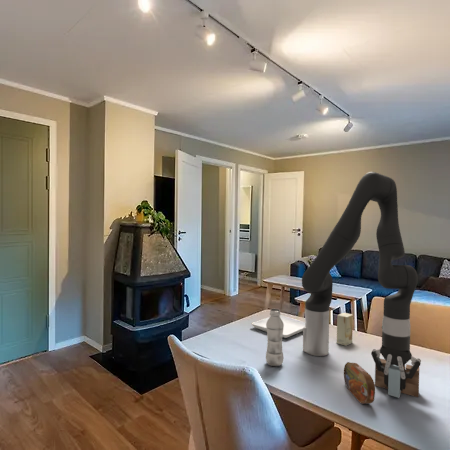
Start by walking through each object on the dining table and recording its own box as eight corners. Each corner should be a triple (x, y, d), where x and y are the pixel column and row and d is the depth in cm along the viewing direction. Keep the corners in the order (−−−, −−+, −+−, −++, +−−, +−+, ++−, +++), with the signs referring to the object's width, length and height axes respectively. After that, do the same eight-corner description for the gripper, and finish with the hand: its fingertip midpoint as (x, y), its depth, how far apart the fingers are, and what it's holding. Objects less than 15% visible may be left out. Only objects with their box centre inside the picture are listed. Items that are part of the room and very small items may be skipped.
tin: (342, 383, 108) (343, 357, 107) (351, 382, 108) (352, 357, 108) (366, 410, 93) (366, 380, 92) (376, 409, 93) (377, 380, 93)
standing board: (374, 385, 106) (375, 361, 106) (376, 381, 108) (377, 357, 108) (418, 397, 99) (418, 371, 99) (418, 392, 102) (419, 367, 102)
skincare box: (345, 346, 138) (346, 317, 137) (336, 343, 141) (336, 315, 141) (352, 342, 142) (353, 314, 142) (343, 339, 145) (343, 312, 145)
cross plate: (399, 397, 97) (400, 371, 97) (388, 394, 99) (388, 368, 99) (404, 378, 109) (404, 354, 109) (393, 375, 111) (394, 352, 110)
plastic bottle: (284, 362, 123) (285, 308, 122) (281, 370, 116) (282, 313, 116) (267, 359, 125) (268, 306, 124) (263, 367, 118) (264, 311, 118)
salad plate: (286, 342, 143) (286, 334, 143) (250, 329, 158) (250, 322, 158) (313, 331, 157) (313, 323, 157) (278, 320, 173) (278, 313, 172)
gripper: (423, 332, 99) (422, 389, 99) (372, 323, 106) (371, 376, 107) (422, 340, 92) (420, 400, 93) (368, 330, 100) (367, 386, 101)
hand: (394, 387), depth 100 cm, fingers closed on cross plate, 3 cm apart
